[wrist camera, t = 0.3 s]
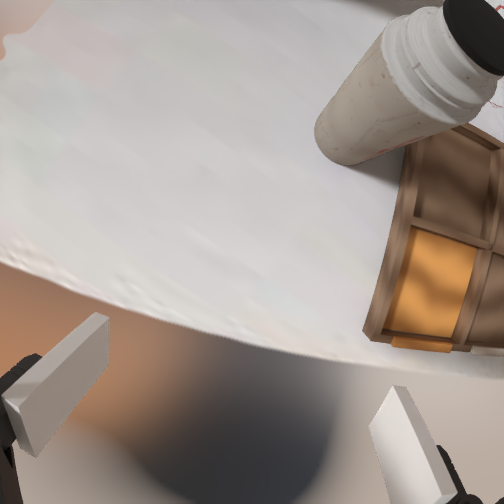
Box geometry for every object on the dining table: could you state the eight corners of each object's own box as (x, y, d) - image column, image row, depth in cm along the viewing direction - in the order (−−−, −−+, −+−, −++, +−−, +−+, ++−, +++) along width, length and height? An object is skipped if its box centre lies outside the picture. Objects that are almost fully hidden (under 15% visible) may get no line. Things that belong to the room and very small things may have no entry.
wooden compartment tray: (410, 107, 35) (425, 98, 31) (542, 179, 36) (558, 179, 32) (362, 331, 40) (372, 344, 35) (504, 348, 40) (518, 357, 36)
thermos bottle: (384, 150, 36) (557, 88, 9) (333, 176, 37) (490, 121, 9) (355, 96, 35) (482, -31, 8) (302, 119, 36) (389, -31, 8)
